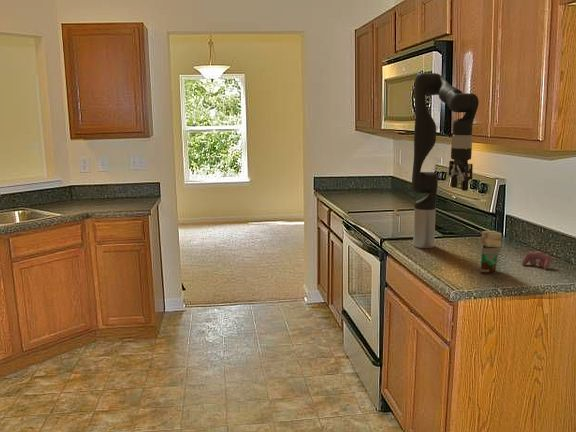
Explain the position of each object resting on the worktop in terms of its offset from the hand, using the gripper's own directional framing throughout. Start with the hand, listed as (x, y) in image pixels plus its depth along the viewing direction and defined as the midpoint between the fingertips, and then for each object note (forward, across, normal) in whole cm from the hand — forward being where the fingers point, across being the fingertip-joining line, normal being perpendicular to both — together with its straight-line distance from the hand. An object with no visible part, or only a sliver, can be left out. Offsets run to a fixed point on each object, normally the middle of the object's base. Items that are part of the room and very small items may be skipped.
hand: (459, 189), depth 216 cm
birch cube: (+20, +12, +8) cm, 25 cm away
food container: (+30, +12, +8) cm, 33 cm away
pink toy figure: (+30, +10, +29) cm, 43 cm away
